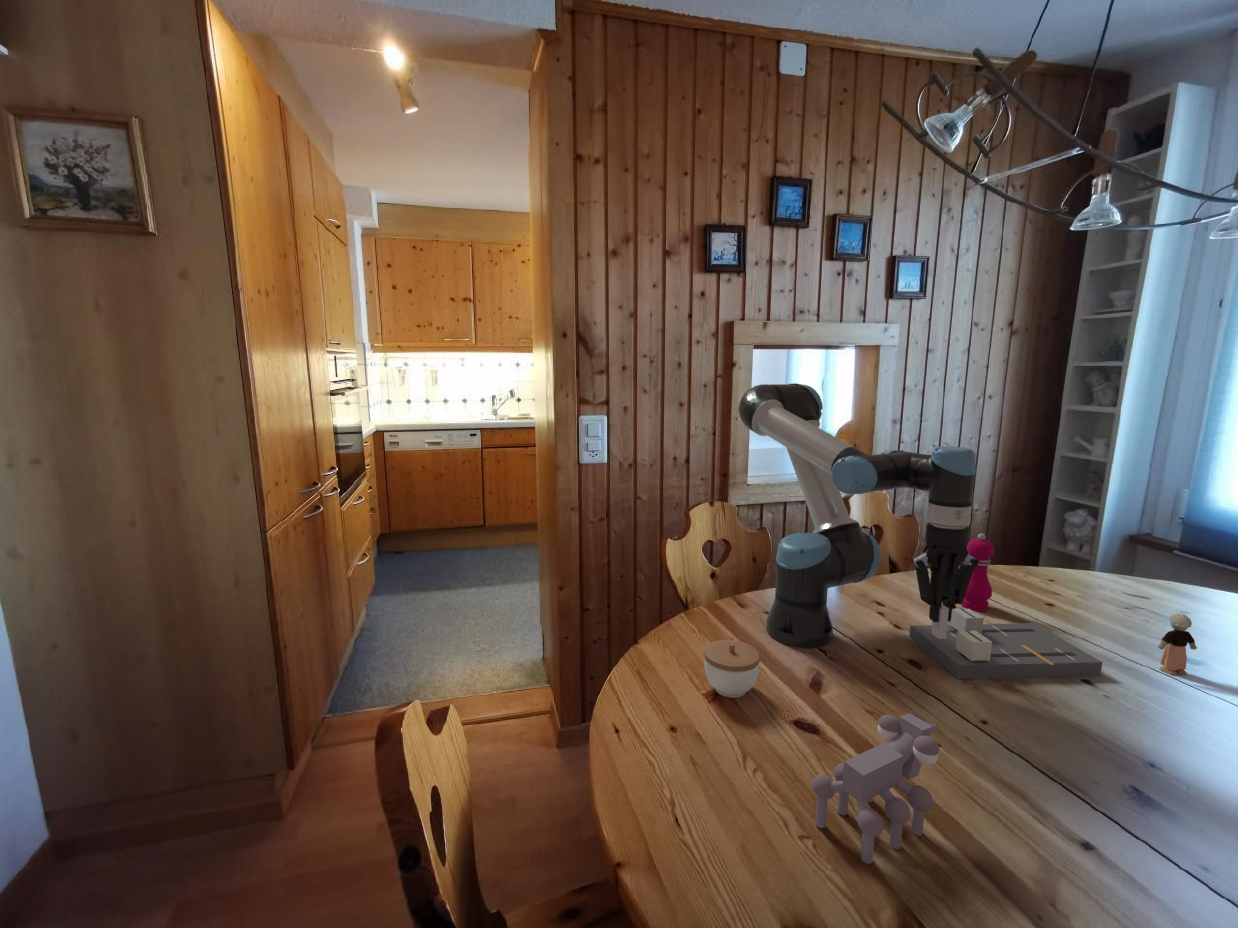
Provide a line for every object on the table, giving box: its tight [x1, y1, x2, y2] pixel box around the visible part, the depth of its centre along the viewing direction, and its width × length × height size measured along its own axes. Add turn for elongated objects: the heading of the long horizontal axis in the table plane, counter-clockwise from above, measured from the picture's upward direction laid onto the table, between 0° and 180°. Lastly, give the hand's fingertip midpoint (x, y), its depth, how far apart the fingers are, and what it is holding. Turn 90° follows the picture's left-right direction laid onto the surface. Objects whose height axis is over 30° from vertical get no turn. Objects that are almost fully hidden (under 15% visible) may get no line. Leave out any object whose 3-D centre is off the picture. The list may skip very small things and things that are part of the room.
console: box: [908, 622, 1103, 680], centre depth 123 cm, size 30×18×3 cm, turn 92°
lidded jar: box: [703, 639, 761, 699], centre depth 109 cm, size 11×11×9 cm
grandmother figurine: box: [1157, 612, 1198, 676], centre depth 115 cm, size 8×4×13 cm, turn 104°
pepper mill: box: [960, 533, 995, 612], centre depth 147 cm, size 7×7×20 cm
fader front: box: [955, 631, 992, 661], centre depth 116 cm, size 4×5×4 cm
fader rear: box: [950, 608, 984, 635], centre depth 127 cm, size 4×5×4 cm
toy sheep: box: [811, 712, 940, 865], centre depth 77 cm, size 20×11×14 cm, turn 118°
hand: (938, 635), depth 115 cm, fingers closed
